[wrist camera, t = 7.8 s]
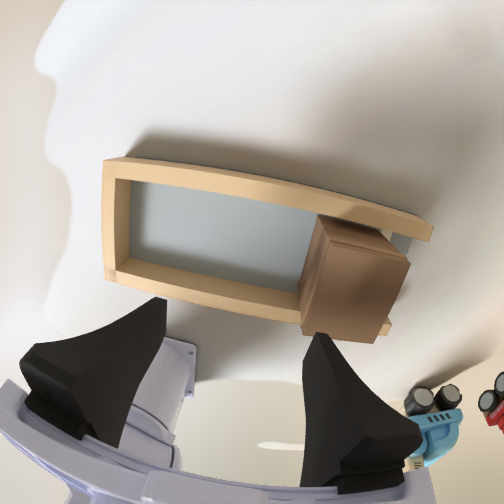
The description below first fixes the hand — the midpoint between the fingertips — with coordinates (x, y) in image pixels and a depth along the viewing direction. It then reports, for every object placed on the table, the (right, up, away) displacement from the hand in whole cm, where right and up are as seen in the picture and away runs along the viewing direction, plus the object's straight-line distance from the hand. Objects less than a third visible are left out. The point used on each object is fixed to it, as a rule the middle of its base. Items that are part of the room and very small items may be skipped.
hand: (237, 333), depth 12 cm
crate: (+7, +3, +8) cm, 11 cm away
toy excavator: (+21, -17, +16) cm, 32 cm away
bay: (+1, +5, +9) cm, 10 cm away
